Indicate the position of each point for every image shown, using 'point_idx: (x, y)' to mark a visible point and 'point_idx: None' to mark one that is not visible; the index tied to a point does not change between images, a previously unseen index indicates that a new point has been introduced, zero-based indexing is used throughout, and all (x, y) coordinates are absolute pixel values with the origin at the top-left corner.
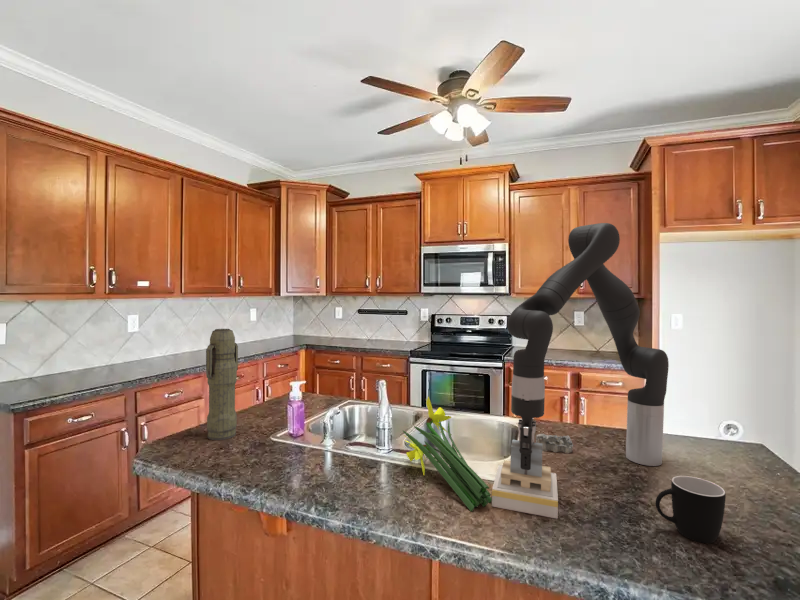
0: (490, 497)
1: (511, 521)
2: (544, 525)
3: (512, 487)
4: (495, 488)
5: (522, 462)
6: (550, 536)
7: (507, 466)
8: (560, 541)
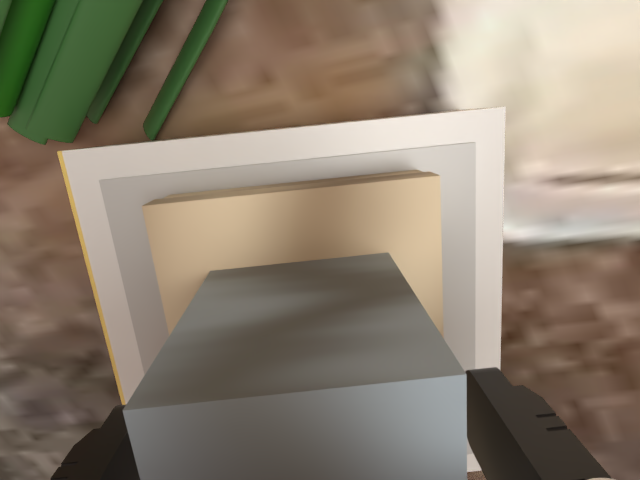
0: (155, 125)
1: (32, 265)
2: (91, 395)
3: (155, 274)
4: (83, 170)
5: (56, 472)
6: (20, 424)
7: (312, 229)
8: (9, 457)
